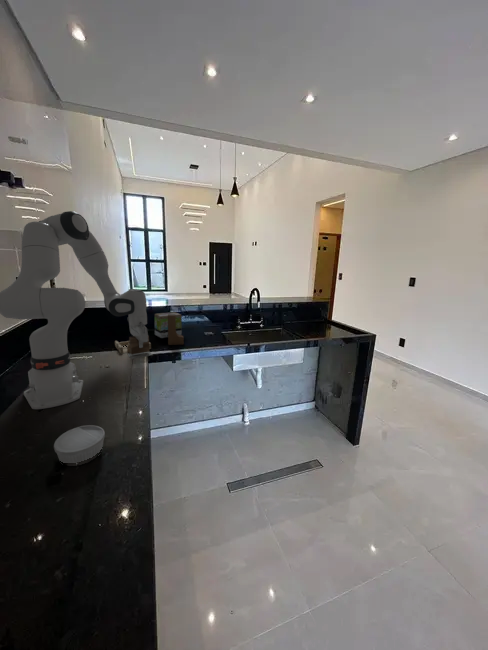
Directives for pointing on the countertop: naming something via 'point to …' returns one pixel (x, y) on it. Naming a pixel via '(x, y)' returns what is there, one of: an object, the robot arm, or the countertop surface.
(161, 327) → the tea box
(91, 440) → the ramekin
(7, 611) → the countertop surface
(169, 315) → the wooden block
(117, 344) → the tray
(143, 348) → the dark brown wood block
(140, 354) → the mat
